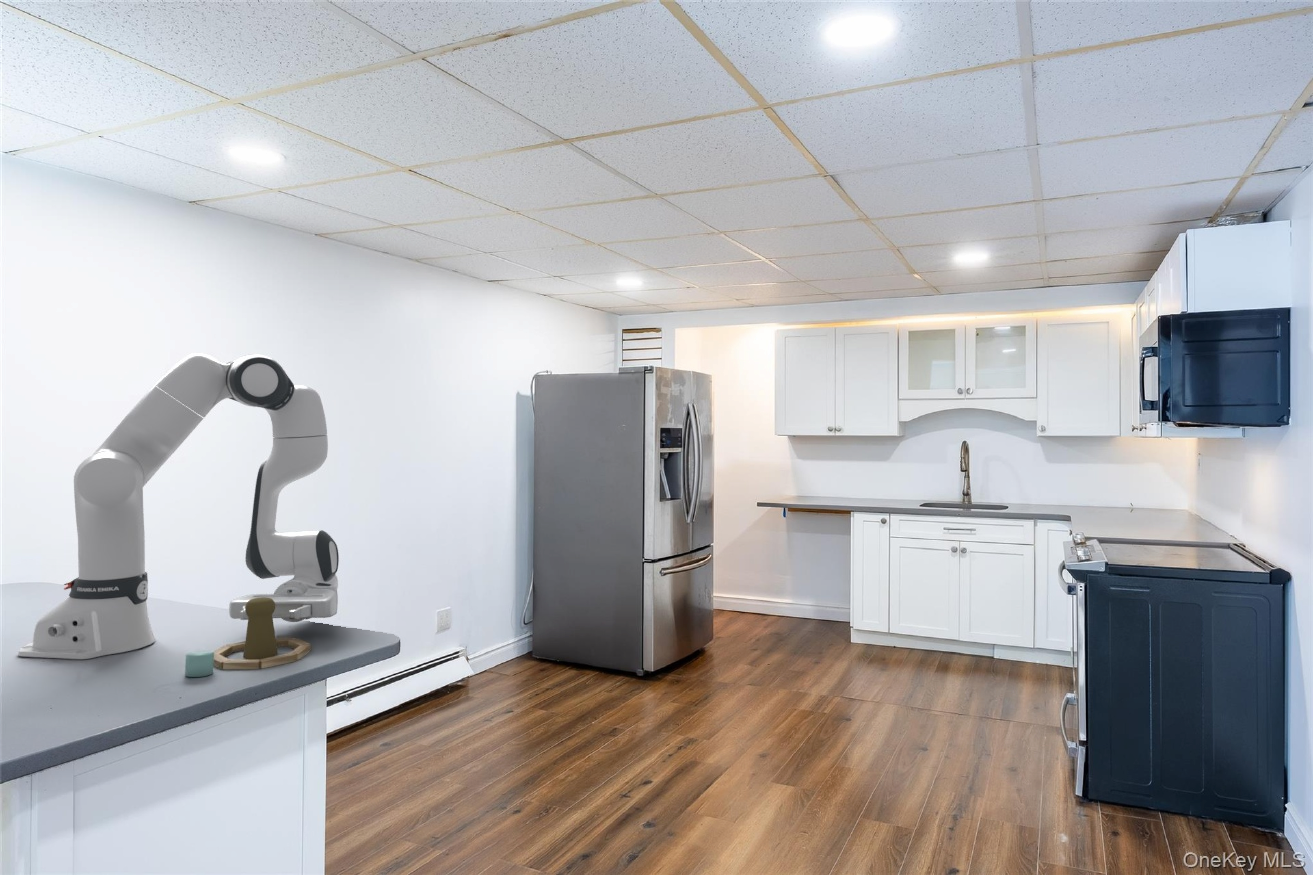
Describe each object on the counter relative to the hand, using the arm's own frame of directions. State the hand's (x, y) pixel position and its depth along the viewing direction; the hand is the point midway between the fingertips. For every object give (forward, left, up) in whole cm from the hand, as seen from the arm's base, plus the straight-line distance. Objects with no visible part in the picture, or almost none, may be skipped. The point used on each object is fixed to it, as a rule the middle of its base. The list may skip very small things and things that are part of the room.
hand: (268, 615), depth 160 cm
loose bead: (-6, -15, -7) cm, 17 cm away
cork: (0, -3, -7) cm, 8 cm away
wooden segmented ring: (0, -4, -7) cm, 8 cm away
